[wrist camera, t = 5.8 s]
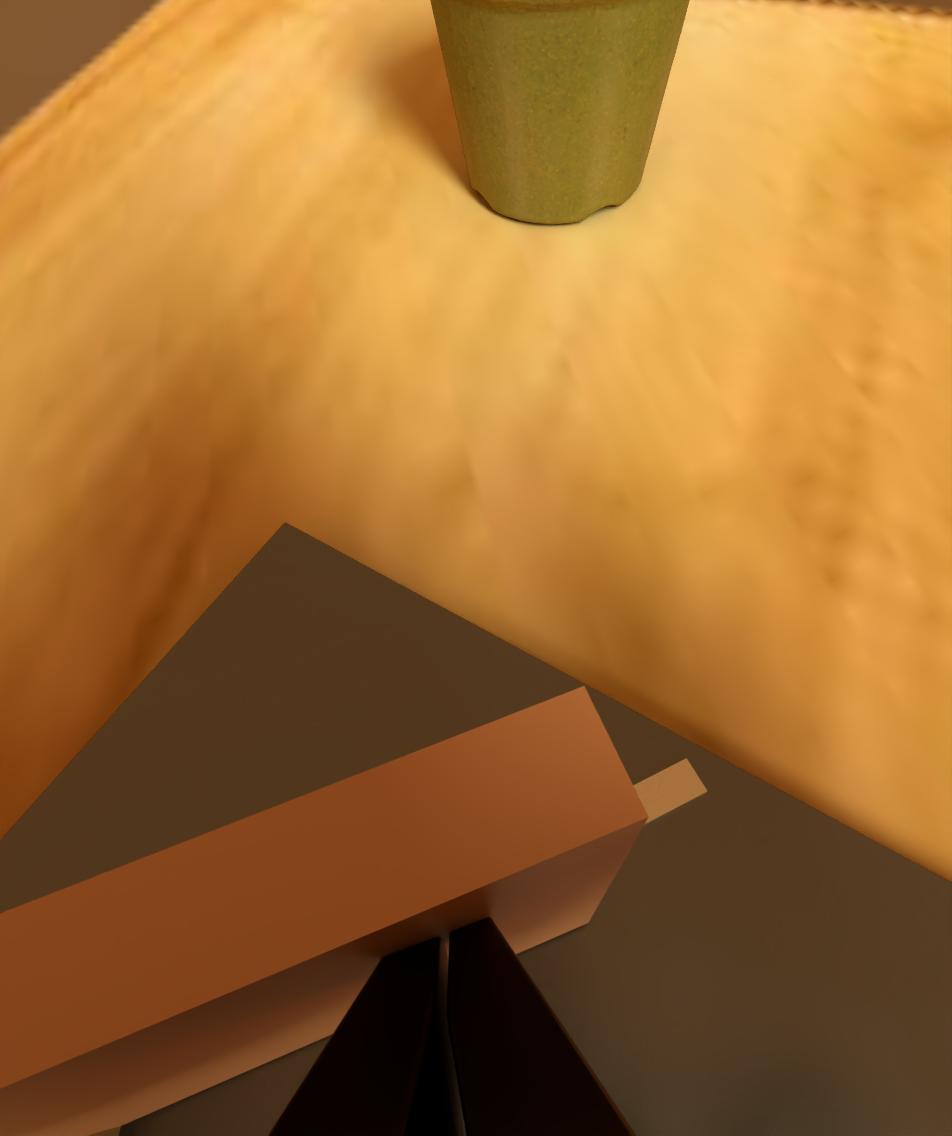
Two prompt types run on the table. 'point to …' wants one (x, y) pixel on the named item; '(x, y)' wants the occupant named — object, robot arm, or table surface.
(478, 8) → the plant pot
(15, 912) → the terracotta tile
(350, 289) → the table surface
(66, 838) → the plate
